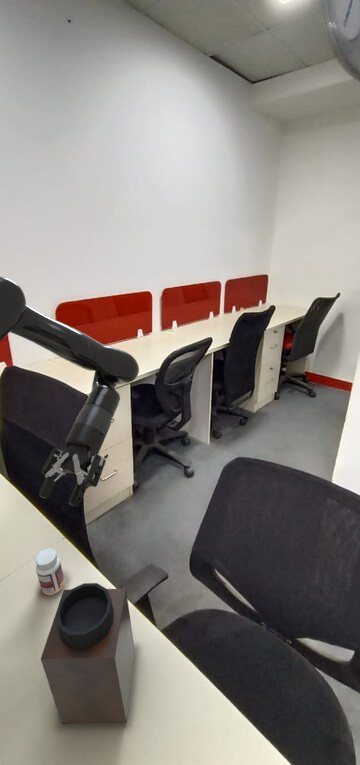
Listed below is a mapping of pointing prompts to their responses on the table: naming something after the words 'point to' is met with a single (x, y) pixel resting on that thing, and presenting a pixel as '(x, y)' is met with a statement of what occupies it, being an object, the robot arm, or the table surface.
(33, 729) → the table surface
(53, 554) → the pill bottle
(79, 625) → the collar
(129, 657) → the stand
